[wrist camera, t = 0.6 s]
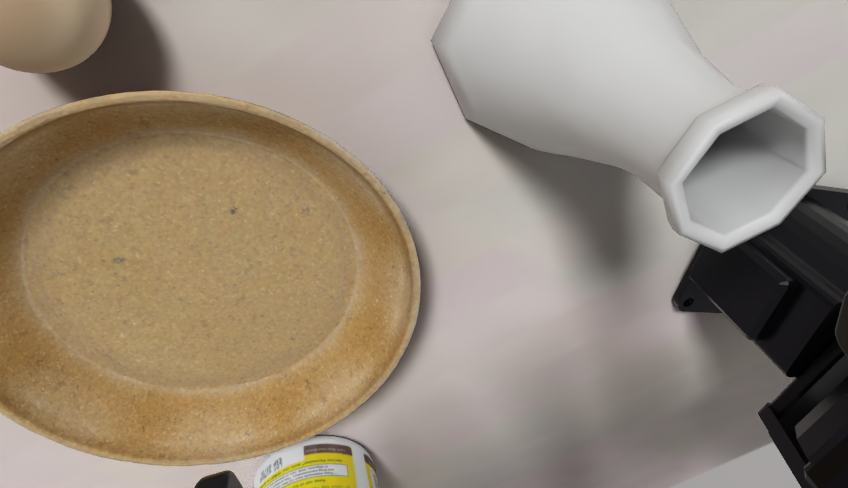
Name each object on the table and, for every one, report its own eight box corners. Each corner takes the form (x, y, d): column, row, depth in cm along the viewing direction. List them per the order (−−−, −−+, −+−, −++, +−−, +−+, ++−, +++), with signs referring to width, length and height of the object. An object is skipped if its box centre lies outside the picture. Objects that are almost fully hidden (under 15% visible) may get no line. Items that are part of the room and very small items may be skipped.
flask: (525, 178, 22) (678, 375, 14) (387, 38, 18) (487, 200, 10) (689, 31, 21) (969, 161, 12) (573, -158, 17) (871, -147, 9)
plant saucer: (21, 433, 24) (-2, 491, 22) (-127, 53, 16) (-186, 87, 14) (393, 395, 27) (404, 442, 25) (423, 67, 19) (443, 96, 17)
